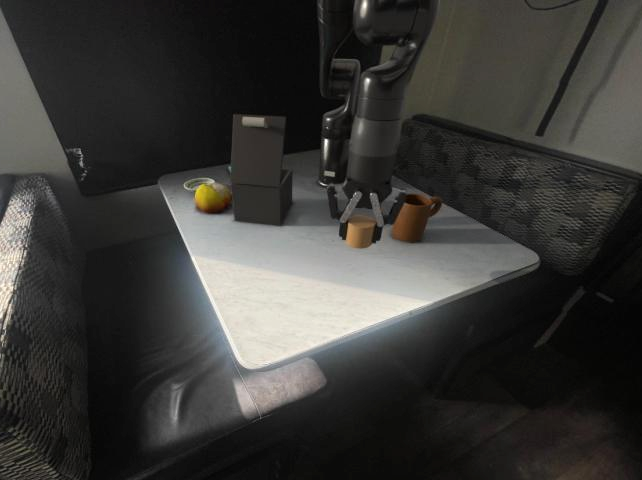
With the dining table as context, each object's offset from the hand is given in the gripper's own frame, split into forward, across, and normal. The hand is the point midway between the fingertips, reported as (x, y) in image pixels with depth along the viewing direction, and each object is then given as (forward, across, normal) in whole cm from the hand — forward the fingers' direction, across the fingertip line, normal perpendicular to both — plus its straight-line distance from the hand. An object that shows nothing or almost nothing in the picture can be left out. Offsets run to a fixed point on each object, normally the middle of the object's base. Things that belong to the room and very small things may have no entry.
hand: (358, 239), depth 64 cm
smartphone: (+9, +42, -51) cm, 67 cm away
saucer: (+9, +50, -35) cm, 62 cm away
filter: (+1, 0, 0) cm, 1 cm away
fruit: (+9, +41, -26) cm, 50 cm away
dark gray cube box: (+9, +26, -26) cm, 38 cm away
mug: (+9, -14, -22) cm, 27 cm away
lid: (-8, +27, -22) cm, 35 cm away
